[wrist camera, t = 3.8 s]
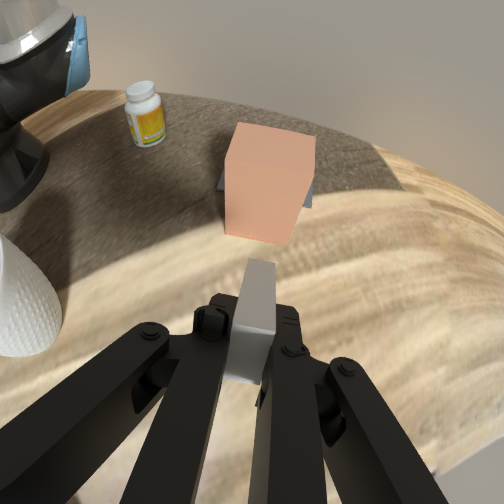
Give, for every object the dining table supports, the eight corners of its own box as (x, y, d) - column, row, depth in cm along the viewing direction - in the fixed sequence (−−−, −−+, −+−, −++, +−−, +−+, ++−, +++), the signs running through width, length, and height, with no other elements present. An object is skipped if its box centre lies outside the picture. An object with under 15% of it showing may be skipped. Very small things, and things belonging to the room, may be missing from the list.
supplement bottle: (127, 146, 36) (112, 97, 28) (144, 125, 39) (134, 77, 30) (156, 150, 36) (145, 98, 27) (172, 129, 38) (165, 78, 30)
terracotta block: (286, 245, 31) (314, 176, 20) (225, 234, 31) (224, 158, 20) (290, 210, 33) (315, 136, 22) (234, 199, 33) (238, 122, 22)
